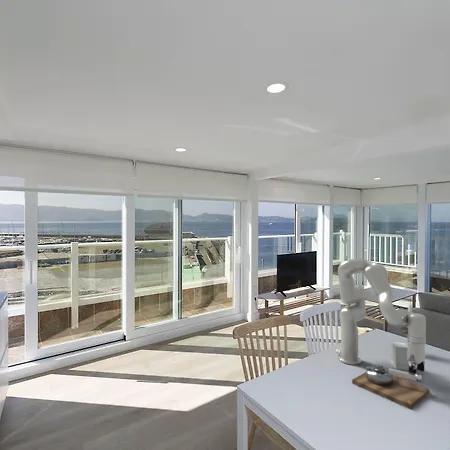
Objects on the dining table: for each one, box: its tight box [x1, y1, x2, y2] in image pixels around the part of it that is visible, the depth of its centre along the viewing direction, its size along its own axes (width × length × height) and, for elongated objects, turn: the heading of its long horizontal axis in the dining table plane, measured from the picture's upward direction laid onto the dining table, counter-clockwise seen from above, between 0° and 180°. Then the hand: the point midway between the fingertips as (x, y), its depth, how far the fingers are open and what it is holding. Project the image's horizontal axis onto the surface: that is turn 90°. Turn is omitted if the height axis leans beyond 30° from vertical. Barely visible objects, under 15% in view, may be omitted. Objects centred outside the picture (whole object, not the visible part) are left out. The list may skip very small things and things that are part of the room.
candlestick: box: [399, 298, 413, 343], centre depth 190 cm, size 11×11×35 cm
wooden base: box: [351, 371, 431, 410], centre depth 149 cm, size 27×21×2 cm
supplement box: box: [390, 341, 409, 372], centre depth 171 cm, size 7×7×13 cm
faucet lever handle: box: [365, 364, 423, 386], centre depth 150 cm, size 24×12×7 cm, turn 59°
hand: (416, 373), depth 151 cm, fingers open, 9 cm apart
